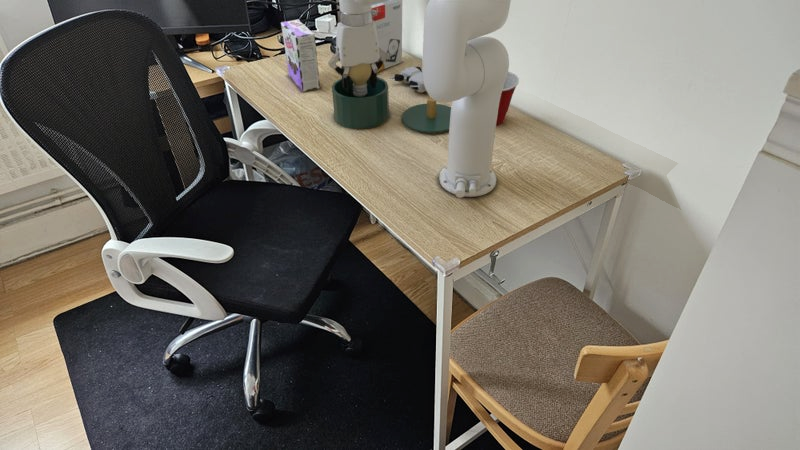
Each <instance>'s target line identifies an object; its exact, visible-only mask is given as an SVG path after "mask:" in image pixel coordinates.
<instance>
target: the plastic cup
mask: <svg viewBox="0 0 800 450" xmlns="http://www.w3.org/2000/svg"><path fill="white" fill-rule="evenodd" d="M519 83H520V80H519V77H518V75H517V74H515V73H513V72H511V71H508V74H507V78H506V81H505V84H504V87H503V90H502V93H501V97H500V102H499V108H498V115H497V122H496V127H497V126H498V127H499V126H501V125H503V124H504V122H505V119H506V116H507V114H508V111H509V108H510V105H511V102H512V98H513V96H514V93H515V90H516V88H517V86H518V85H519Z"/></svg>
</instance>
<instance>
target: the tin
mask: <svg viewBox="0 0 800 450" xmlns="http://www.w3.org/2000/svg"><path fill="white" fill-rule="evenodd" d="M366 83H367V94H366V95H365V96H363V97H357V96H355V95H354V94H353V82H352V80H351V79H350V92H347V91H346V89H345V88H343V84H342V78H339V79H337V80H336V81H335V82H333V84H332V85H331V94H332V104H333V105H332V106H333V114H334V120H335V121H336V123H337V124H339V125H340V126H342V127H345V128H348V129H354V130H365V129H366V130H367V129H372V128H376V127H378V126H381V125H383V124H384V123H386V122H387V120H388V119H389V116H390V101H389V100H390V99H389V84H388V82H387V81H386V80H385V79H384V78H382V77H378V76H377V83H375V85H376V88H372V86H371V85H370V84H369V79H368V80H367V82H366Z"/></svg>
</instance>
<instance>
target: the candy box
mask: <svg viewBox="0 0 800 450" xmlns="http://www.w3.org/2000/svg"><path fill="white" fill-rule="evenodd" d="M280 27H281V33H282V40H283V46H284V53H285V59H286V66H287V73H288V76H289V78H290V79H291V80H292V81H293V82H294V83H295V85H296V86H297V87H298V88H299V90H301V92H309V91H315V90H319V89H321V83H320V74H319V65H318V54H317V44H316V43H317V42H316V33H315V32H313V31H312V30H310V28H308V27H307V26H306V25H305V24H304V23H303V22H302V21H301V20H300V19H299V18H297V19H292V20H287V21H281V22H280Z"/></svg>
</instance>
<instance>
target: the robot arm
mask: <svg viewBox="0 0 800 450" xmlns="http://www.w3.org/2000/svg"><path fill="white" fill-rule="evenodd" d="M384 1H388V0H338V2H339V15H340V16H339V18H340V21H339V22H337V25H336V34H335V35H336V37H335V53H334V54H333V56H332V57H331V58H329V59H330V60H329V61H328V62H327V65H328V66H329V67H330V68H331V69H332V70H334V71H335V72H336V73H337V74H339V75H340V76H341V79H342V84H343V88H345V89H346V91H347V92H350V78H349V76H348V73H349V70H350V67H352V66H356V65H358V64H361V63H365V64H370V65H371V69H372V71H371V75H370V77H369V84H370V85H371V86H372V88H376V85H375V83H377V77H378V73H379V72H378V70H379V68H380V67H381V66H382V65H383V62H385V60H386V59H387V58H388V55H387V54H386V53H385V52H384V51H383V50H382V49H380V48H379V46H378V38H377V32H376V27H375V23H374V21H373V17H374V16H377V10H372V8H371V5H372V4H376V3H380V2H384ZM511 1H512V0H428V2H427V3H426V7H425V11H424V16H423V34H422V35H423V37H422V39H423V41H422V61H421V69H422V75H423V82H424V86H425V89H426V91H425V92H426V93H427V95H428V96H429V98H430V97H431V98H432V99H433V100H435V101H437V102H436V103H438V104H450V103H451V106H450V107H451V113H450V127H449V130H448V143H447V144H448V145H447V161H446V162H447V163H446V166H444V167H443V168H442V169H441V170H440V172H439V177H438V178H439V184H440V185H441V187H442V188H443V189H444V190H446V191H447V192H449V193H451V194H453V195H455V196H456V197H457V198H460V199H461V198H464V197H468V198H469V197H470V198H471V197H473V198H475V197H479V196H483V195H486V194H489V193H490V192H491V191H493V190H494V188H495V187H496V185H497V175H496V173H495V172H494V171H493V170H492V169H491V168H492V160H493V152H494V144H495V137H496V131H497V130H496V129H497V126H496V122H497V115H498V108H499V102H500V97H501V93H502V90H503V87H504V84H505V81H506V78H507V74H508V72H509V68H510V57H509V53H508V50H507V48H506V46H505V45H504V44H503V43H502V42H501V41H500V40H499V39H497V38H494V37H492V36H487V35H489V34H492V33H494V32H496V31H498V30H500V29H502V27H503V26H504V25H505V24H506V22H507V20H508V16H509V14H510V7H511ZM379 54H380V58H379ZM338 62H340V64H341V67H340V66H339V65H337V63H338Z"/></svg>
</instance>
